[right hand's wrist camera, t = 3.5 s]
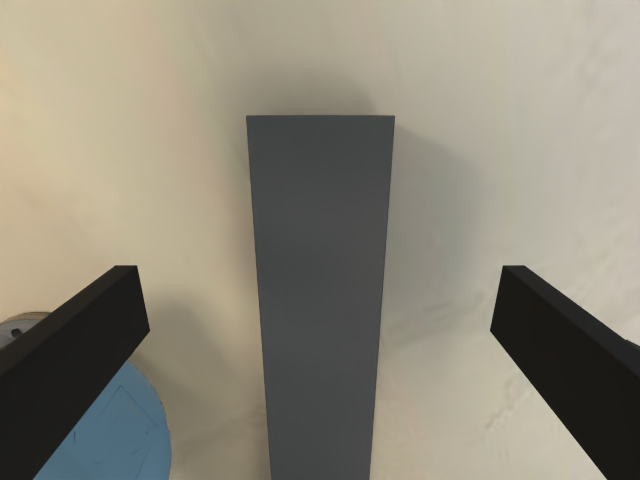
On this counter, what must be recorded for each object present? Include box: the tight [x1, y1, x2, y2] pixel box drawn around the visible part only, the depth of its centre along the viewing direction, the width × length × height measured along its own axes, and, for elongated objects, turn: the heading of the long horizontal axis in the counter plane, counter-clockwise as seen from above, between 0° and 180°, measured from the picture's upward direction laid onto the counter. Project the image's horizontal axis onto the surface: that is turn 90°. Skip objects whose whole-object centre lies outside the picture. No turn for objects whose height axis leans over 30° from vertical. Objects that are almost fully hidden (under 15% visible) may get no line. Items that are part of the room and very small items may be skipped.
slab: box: [246, 115, 395, 480], centre depth 37 cm, size 60×10×6 cm, turn 0°
